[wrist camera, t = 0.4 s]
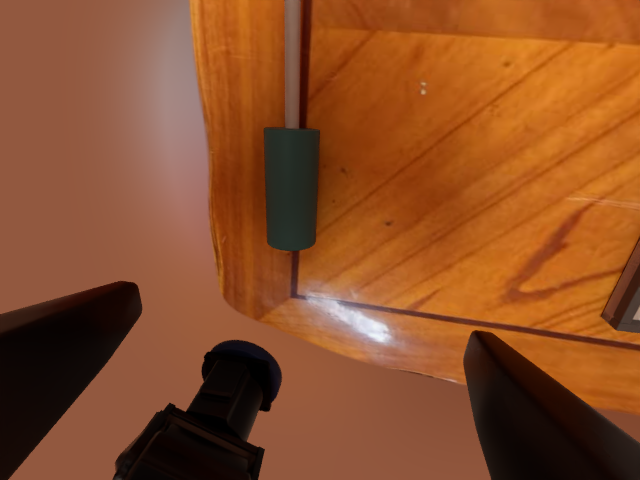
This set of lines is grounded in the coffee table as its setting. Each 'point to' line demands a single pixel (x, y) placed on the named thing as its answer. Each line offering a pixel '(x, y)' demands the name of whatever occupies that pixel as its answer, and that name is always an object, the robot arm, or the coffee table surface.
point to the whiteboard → (626, 298)
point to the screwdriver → (291, 157)
